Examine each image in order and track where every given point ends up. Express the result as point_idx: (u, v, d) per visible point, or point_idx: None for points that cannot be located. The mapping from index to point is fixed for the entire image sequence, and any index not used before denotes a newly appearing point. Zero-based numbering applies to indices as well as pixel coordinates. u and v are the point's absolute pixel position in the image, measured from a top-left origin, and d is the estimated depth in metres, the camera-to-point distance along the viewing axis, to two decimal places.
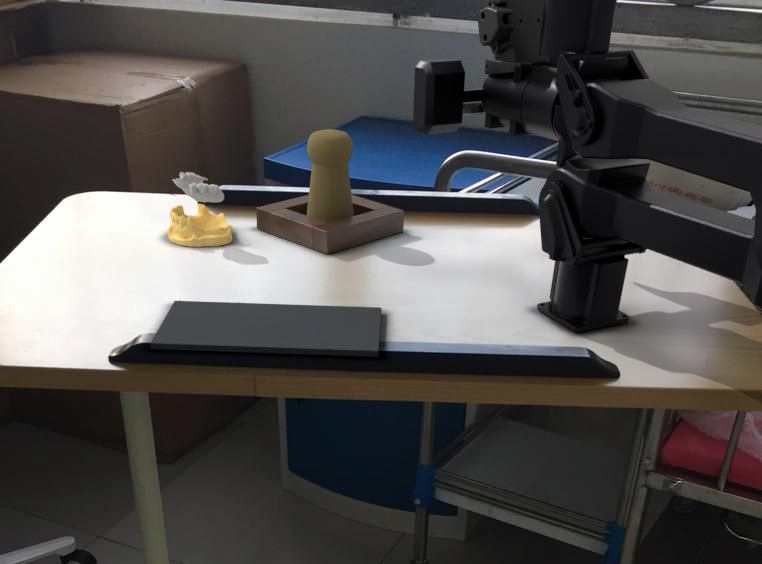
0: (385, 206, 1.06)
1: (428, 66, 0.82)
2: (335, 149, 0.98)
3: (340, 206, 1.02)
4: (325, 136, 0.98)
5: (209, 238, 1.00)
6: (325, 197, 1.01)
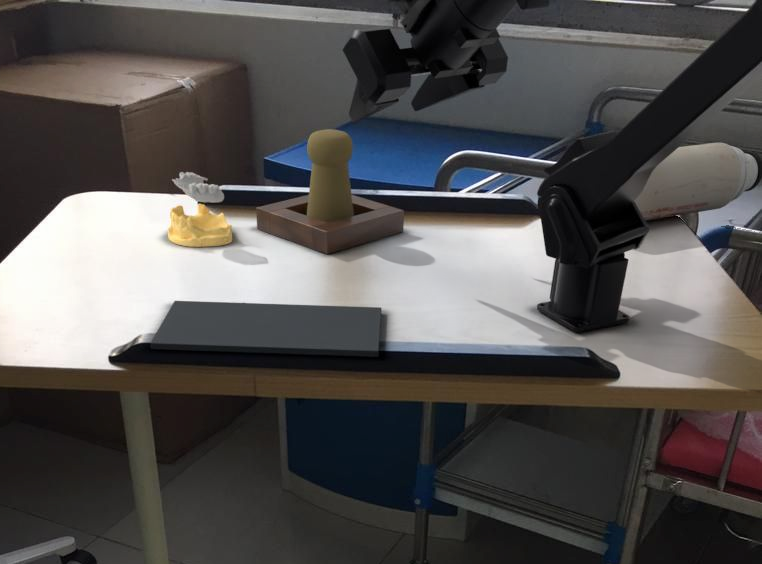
0: (385, 206, 1.06)
1: (354, 32, 0.80)
2: (335, 149, 0.98)
3: (340, 206, 1.02)
4: (325, 136, 0.98)
5: (209, 238, 1.00)
6: (325, 197, 1.01)
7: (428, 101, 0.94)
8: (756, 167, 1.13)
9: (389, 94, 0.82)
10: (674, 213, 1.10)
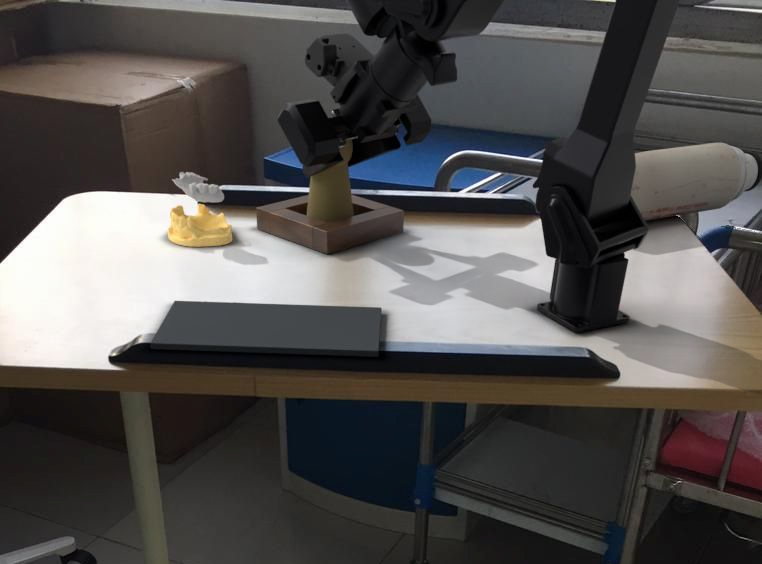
0: (385, 206, 1.06)
1: (286, 105, 0.90)
2: None
3: (340, 206, 1.02)
4: None
5: (209, 238, 1.00)
6: (325, 197, 1.01)
7: (350, 161, 1.03)
8: (756, 167, 1.13)
9: (319, 158, 0.91)
10: (674, 213, 1.10)
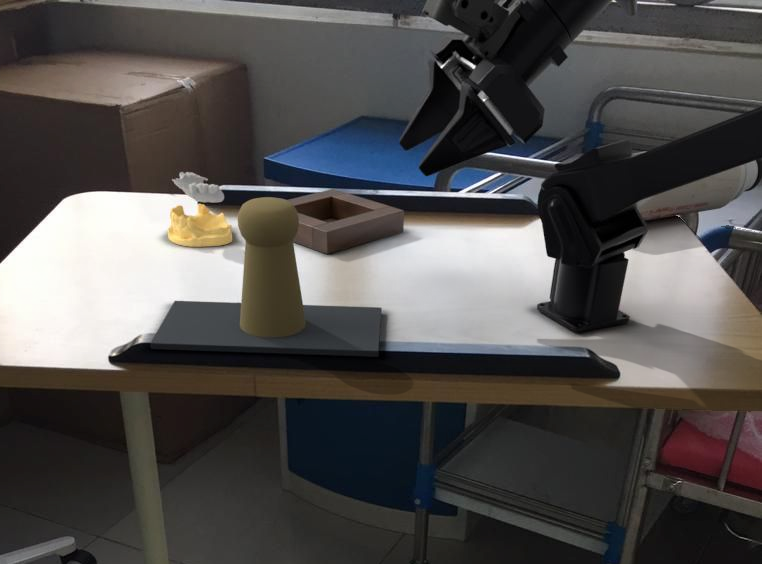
0: (385, 206, 1.06)
1: (499, 68, 0.67)
2: (295, 221, 0.75)
3: (299, 289, 0.79)
4: (278, 208, 0.74)
5: (209, 238, 1.00)
6: (288, 283, 0.77)
7: (423, 136, 0.82)
8: (756, 167, 1.13)
9: None
10: (674, 213, 1.10)
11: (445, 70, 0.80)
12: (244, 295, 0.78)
